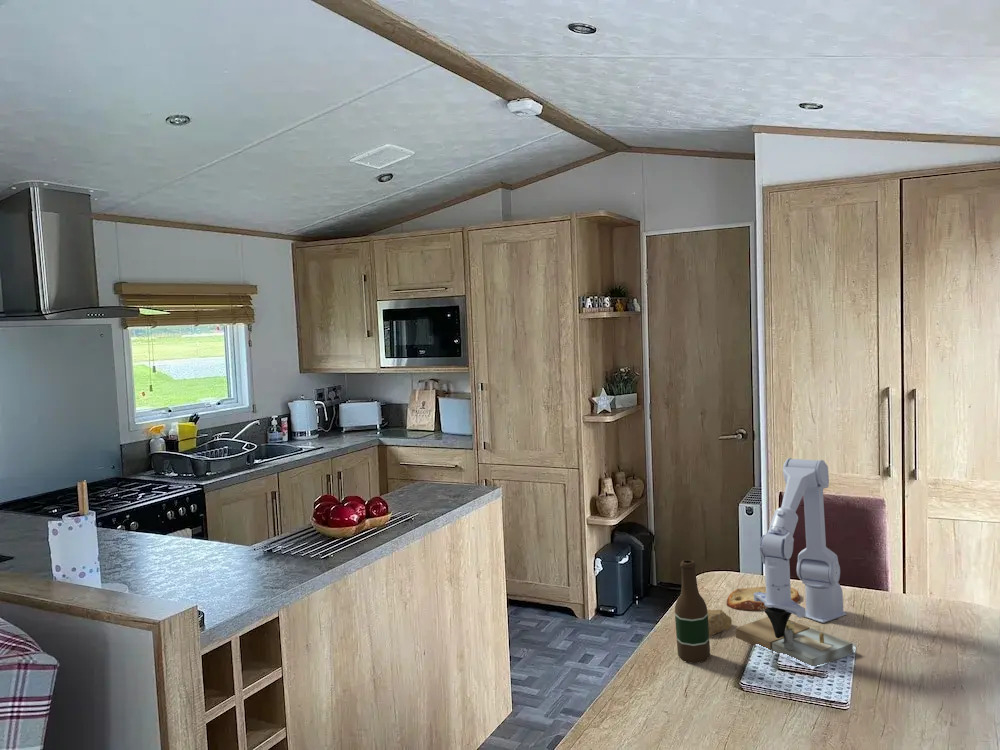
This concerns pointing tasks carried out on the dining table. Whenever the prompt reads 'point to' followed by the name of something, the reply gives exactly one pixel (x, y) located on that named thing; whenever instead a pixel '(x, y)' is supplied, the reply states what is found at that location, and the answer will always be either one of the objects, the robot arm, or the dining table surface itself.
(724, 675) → the dining table surface
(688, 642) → the beer bottle
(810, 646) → the door mockup
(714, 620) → the stone tool
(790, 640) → the bar
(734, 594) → the slice of bread
